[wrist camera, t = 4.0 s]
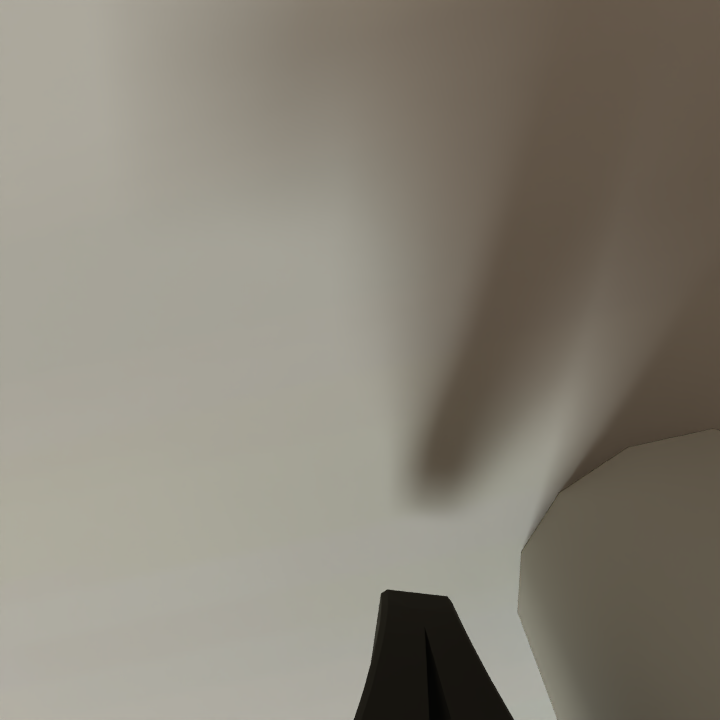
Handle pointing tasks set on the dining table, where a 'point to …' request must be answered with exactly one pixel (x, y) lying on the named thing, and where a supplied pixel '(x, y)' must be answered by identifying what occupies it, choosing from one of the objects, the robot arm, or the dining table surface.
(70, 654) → the dining table surface
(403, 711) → the robot arm
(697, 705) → the grey cylinder
